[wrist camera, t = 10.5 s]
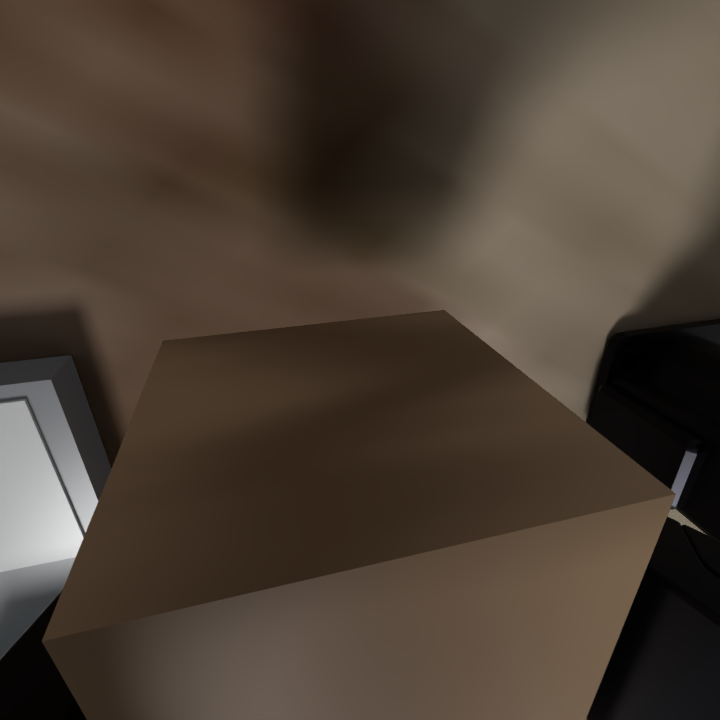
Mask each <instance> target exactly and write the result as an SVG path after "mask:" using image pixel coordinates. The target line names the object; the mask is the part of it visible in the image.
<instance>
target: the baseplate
mask: <svg viewBox="0 0 720 720" xmlns="http://www.w3.org/2000/svg"><path fill="white" fill-rule="evenodd" d="M110 471H111V466H110V463H109V460H108V457H107V454H106V452H105V449H104V446H103V443H102V440H101V438H100V435H99V432H98V429H97V426H96V423H95V421H94V418H93V415H92V412H91V409H90V407H89V404H88V401H87V398H86V395H85V392H84V390H83V387H82V384H81V381H80V378H79V376H78V373H77V370H76V367H75V364H74V361H73V359H72V356H71V355H67V356H58V357H49V358H40V359H31V360H22V361H13V362H4V363H0V658H1V657H2V656H3V655H4V654H5V653H6V652H7V651H8V649H9V648H10V647H11V646H12V645H13V644H14V643H15V642H16V640H17V639H18V638H19V637H20V636H21V635H22V634H23V633H24V632H25V630H26V629H27V628H28V627H29V626H30V625H31V624H32V623H33V622H34V620H35V619H36V618H37V617H38V616H39V615H40V614H41V613H42V611H43V610H44V609H45V608H46V607H47V606H48V605H49V604H50V603H51V601H52V600H53V599H54V598H55V597H56V596H57V595H58V594H59V593H60V591H61V590H62V589H63V587H64V585H65V583H66V580H67V578H68V575H69V573H70V570H71V568H72V565H73V563H74V560H75V558H76V555H77V553H78V550H79V548H80V545H81V543H82V540H83V538H84V536H85V533H86V531H87V528H88V526H89V523H90V521H91V518H92V516H93V513H94V511H95V508H96V506H97V503H98V501H99V498H100V496H101V493H102V491H103V488H104V486H105V484H106V481H107V479H108V476H109V474H110Z"/></svg>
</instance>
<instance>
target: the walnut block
mask: <svg viewBox="0 0 720 720" xmlns="http://www.w3.org/2000/svg"><path fill="white" fill-rule="evenodd" d="M675 496H676V494H675V493H674V492H673V491H672V490H670V489H669V488H668V487H667V486H665V485H664V484H663V483H662V482H660V481H659V480H658V479H656V478H655V477H654V476H653V475H651V474H650V473H649V472H648V471H646V470H645V469H644V468H643V467H641V466H640V465H639V464H638V463H636V462H635V461H634V460H633V459H631V458H630V457H629V456H627V455H626V454H625V453H624V452H622V451H621V450H620V449H619V448H617V447H616V446H615V445H614V444H612V443H611V442H610V441H609V440H607V439H606V438H605V437H604V436H602V435H601V434H600V433H598V432H597V431H596V430H595V429H593V428H592V427H591V426H590V425H588V424H587V423H586V422H585V421H583V420H582V419H581V418H580V417H578V416H577V415H576V414H574V413H573V412H572V411H571V410H569V409H568V408H567V407H566V406H564V405H563V404H562V403H561V402H559V401H558V400H557V399H556V398H554V397H553V396H552V395H551V394H549V393H548V392H547V391H545V390H544V389H543V388H542V387H540V386H539V385H538V384H537V383H535V382H534V381H533V380H532V379H530V378H529V377H528V376H527V375H525V374H524V373H523V372H522V371H520V370H519V369H518V368H516V367H515V366H514V365H513V364H511V363H510V362H509V361H508V360H506V359H505V358H504V357H503V356H501V355H500V354H499V353H498V352H496V351H495V350H494V349H492V348H491V347H490V346H489V345H487V344H486V343H485V342H484V341H482V340H481V339H480V338H479V337H477V336H476V335H475V334H474V333H472V332H471V331H470V330H469V329H467V328H466V327H465V326H463V325H462V324H461V323H460V322H458V321H457V320H456V319H455V318H453V317H452V316H451V315H450V314H448V313H447V312H446V311H445V310H440V311H431V312H422V313H413V314H404V315H395V316H385V317H376V318H367V319H358V320H349V321H340V322H331V323H322V324H312V325H303V326H294V327H285V328H276V329H267V330H258V331H249V332H239V333H230V334H221V335H212V336H203V337H194V338H185V339H176V340H166V341H163V342H162V345H161V347H160V350H159V352H158V355H157V357H156V360H155V362H154V365H153V367H152V370H151V372H150V375H149V377H148V380H147V382H146V385H145V387H144V390H143V392H142V394H141V397H140V399H139V402H138V404H137V407H136V409H135V412H134V414H133V417H132V419H131V422H130V424H129V427H128V429H127V432H126V434H125V437H124V439H123V441H122V444H121V446H120V449H119V451H118V454H117V456H116V459H115V461H114V464H113V466H112V469H111V471H110V474H109V476H108V479H107V481H106V484H105V486H104V488H103V491H102V493H101V496H100V498H99V501H98V503H97V506H96V508H95V511H94V513H93V516H92V518H91V521H90V523H89V526H88V528H87V531H86V533H85V536H84V538H83V540H82V543H81V545H80V548H79V550H78V553H77V555H76V558H75V560H74V563H73V565H72V568H71V570H70V573H69V575H68V578H67V580H66V583H65V585H64V587H63V590H62V592H61V595H60V597H59V600H58V602H57V605H56V607H55V610H54V612H53V615H52V617H51V620H50V622H49V625H48V627H47V630H46V632H45V635H44V637H43V639H42V643H43V644H44V646H45V648H46V650H47V651H48V653H49V655H50V657H51V658H52V660H53V662H54V663H55V665H56V667H57V669H58V670H59V672H60V674H61V676H62V677H63V679H64V681H65V683H66V684H67V686H68V688H69V690H70V691H71V693H72V695H73V696H74V698H75V700H76V702H77V703H78V705H79V707H80V709H81V710H82V712H83V714H84V716H85V717H86V719H87V720H586V718H587V715H588V713H589V710H590V708H591V705H592V703H593V700H594V698H595V695H596V693H597V690H598V688H599V685H600V683H601V680H602V678H603V675H604V673H605V670H606V668H607V665H608V663H609V660H610V658H611V655H612V653H613V650H614V648H615V645H616V643H617V640H618V638H619V635H620V633H621V630H622V628H623V625H624V623H625V620H626V618H627V615H628V613H629V610H630V608H631V605H632V603H633V600H634V598H635V595H636V593H637V590H638V588H639V585H640V583H641V580H642V578H643V576H644V573H645V571H646V568H647V566H648V563H649V561H650V558H651V556H652V553H653V551H654V548H655V546H656V543H657V541H658V538H659V536H660V533H661V531H662V528H663V526H664V523H665V521H666V518H667V516H668V513H669V511H670V508H671V506H672V503H673V501H674V498H675Z"/></svg>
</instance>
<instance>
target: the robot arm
mask: <svg viewBox="0 0 720 720" xmlns="http://www.w3.org/2000/svg"><path fill="white" fill-rule="evenodd" d="M622 345H623V346H622ZM587 424H588V425H590V426H591V427H592V428H593V429H595V430H596V431H597V432H598V433H600V434H601V435H602V436H604V437H605V438H606V439H607V440H609V441H610V442H611V443H612V444H614V445H615V446H616V447H617V448H619V449H620V450H621V451H622V452H624V453H625V454H626V455H627V456H629V457H630V458H631V459H633V460H634V461H635V462H636V463H638V464H639V465H640V466H641V467H643V468H644V469H645V470H646V471H648V472H649V473H650V474H651V475H653V476H654V477H655V478H656V479H658V480H659V481H660V482H662V483H663V484H664V485H665V486H667V487H668V488H669V489H670V490H672V491H673V492H674V493H675V494H676V496H675V498H674V501H673V503H672V506H671V508H670V509H676V510H677V511H679V512H680V513H681V514H682V515H684V516H685V517H686V518H687V519H688V520H690V521H691V522H692V523H693V524H694V525H696V526H697V527H698V528H699V529H700V530H702V531H703V532H704V533H705V534H703V533H701V532H699V531H697V530H695V529H693V528H691V527H689V526H687V525H682V526H681V525H680V523H679V522H678V521H676V520H674V519H671V518H669V517H667V518H666V521H665V523H664V526H663V528H662V531H661V533H660V536H659V538H658V541H657V543H656V546H655V548H654V551H653V553H652V556H651V558H650V561H649V563H648V566H647V568H646V571H645V573H644V576H643V578H642V580H641V583H640V585H639V588H638V590H637V593H636V595H635V598H634V600H633V603H632V605H631V608H630V610H629V613H628V615H627V618H626V620H625V623H624V625H623V628H622V630H621V633H620V635H619V638H618V640H617V643H616V645H615V648H614V650H613V653H612V655H611V658H610V660H609V663H608V665H607V668H606V670H605V673H604V675H603V678H602V680H601V683H600V685H599V688H598V690H597V693H596V695H595V698H594V700H593V703H592V705H591V708H590V710H589V713H588V715H587V718H586V719H587V720H720V319H717V320H709V321H702V322H694V323H687V324H679V325H672V326H664V327H657V328H649V329H641V330H634V331H626V332H620V333H617V334H616V335H614V336H613V337H612V338H611V339H610V340H609V342H608V345H607V348H606V352H605V356H604V360H603V364H602V368H601V372H600V376H599V380H598V383H597V387H596V391H595V395H594V399H593V403H592V407H591V411H590V415H589V419H588V423H587ZM62 590H63V589H62ZM62 590H61V591H60V593H59V594H58V595H57V596H56V597H55V598H54V599H53V600H52V601H51V603H50V604H49V605H48V606H47V607H46V608H45V609H44V610H43V611H42V613H41V614H40V615H39V616H38V617H37V618H36V619H35V620H34V622H33V623H32V624H31V625H30V626H29V627H28V628H27V629H26V630H25V632H24V633H23V634H22V635H21V636H20V637H19V638H18V639H17V640H16V642H15V643H14V644H13V645H12V646H11V647H10V648H9V649H8V651H7V652H6V653H5V654H4V655H3V656H2V657H1V658H0V720H87V719H86V717H85V716H84V714H83V712H82V710H81V709H80V707H79V705H78V703H77V702H76V700H75V698H74V696H73V695H72V693H71V691H70V690H69V688H68V686H67V684H66V683H65V681H64V679H63V677H62V676H61V674H60V672H59V670H58V669H57V667H56V665H55V663H54V662H53V660H52V658H51V657H50V655H49V653H48V651H47V650H46V648H45V646H44V644H43V643H42V639H43V637H44V635H45V632H46V630H47V627H48V625H49V622H50V620H51V617H52V615H53V612H54V610H55V607H56V605H57V602H58V600H59V597H60V595H61V592H62Z"/></svg>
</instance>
